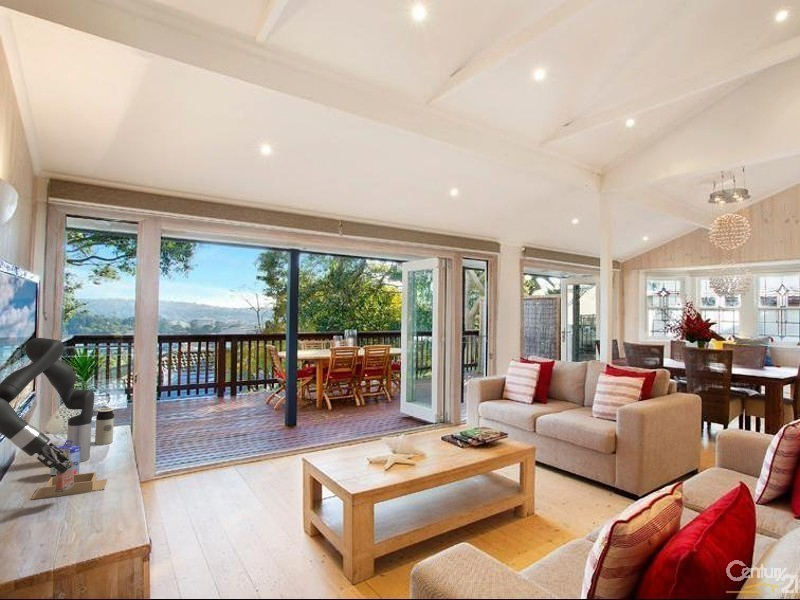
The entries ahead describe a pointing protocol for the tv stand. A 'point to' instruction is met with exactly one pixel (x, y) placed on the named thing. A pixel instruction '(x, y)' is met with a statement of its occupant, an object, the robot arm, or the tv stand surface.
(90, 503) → the tv stand surface
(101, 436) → the travel mug
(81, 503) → the tv stand surface
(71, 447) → the ink cartridge box
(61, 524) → the tv stand surface
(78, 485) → the mailer box
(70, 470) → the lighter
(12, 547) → the tv stand surface
